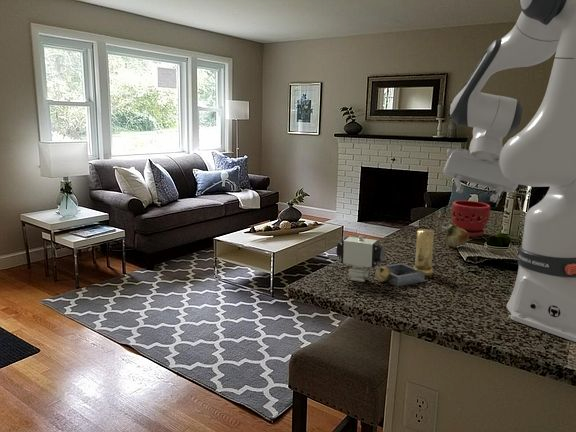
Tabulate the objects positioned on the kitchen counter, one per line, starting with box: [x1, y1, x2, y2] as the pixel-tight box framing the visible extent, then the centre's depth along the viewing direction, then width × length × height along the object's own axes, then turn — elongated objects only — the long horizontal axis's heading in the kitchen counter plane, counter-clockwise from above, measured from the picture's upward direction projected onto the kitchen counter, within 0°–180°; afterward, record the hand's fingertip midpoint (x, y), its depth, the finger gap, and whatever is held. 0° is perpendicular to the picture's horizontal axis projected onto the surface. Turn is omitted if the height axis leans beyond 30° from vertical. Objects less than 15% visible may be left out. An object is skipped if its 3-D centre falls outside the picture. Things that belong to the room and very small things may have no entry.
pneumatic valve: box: [335, 235, 386, 283], centre depth 117 cm, size 6×12×12 cm, turn 63°
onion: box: [441, 222, 470, 249], centre depth 149 cm, size 8×8×8 cm
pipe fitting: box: [412, 228, 435, 277], centre depth 122 cm, size 5×5×12 cm
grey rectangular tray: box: [375, 262, 426, 287], centre depth 118 cm, size 9×11×4 cm
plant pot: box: [451, 200, 491, 238], centre depth 166 cm, size 13×13×12 cm
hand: (476, 196), depth 124 cm, fingers open, 8 cm apart
